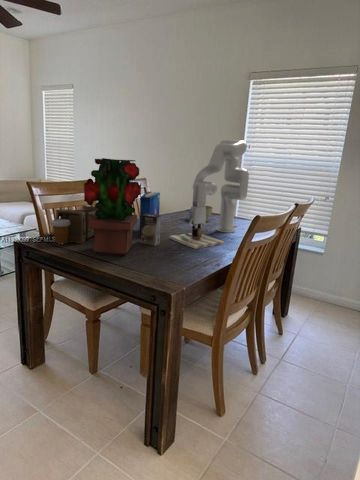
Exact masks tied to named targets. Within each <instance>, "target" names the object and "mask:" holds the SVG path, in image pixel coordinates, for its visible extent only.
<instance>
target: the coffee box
mask: <svg viewBox="0 0 360 480" xmlns="http://www.w3.org/2000/svg"><path fill="white" fill-rule="evenodd" d="M161 221H162V215H160V214H159V215H154V214H147V213H146V214H144V215H142V232H141V235H140V237H141V239H140V244H145V245H150V246H155V247H156V246H157V245H159V244H160V241H161V240H160V239H161V238H160V237H161V224H162V223H161Z"/></svg>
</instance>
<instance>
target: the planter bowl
mask: <svg viewBox="0 0 360 480" xmlns="http://www.w3.org/2000/svg"><path fill="white" fill-rule="evenodd" d="M205 207H206V221H205V222H207V221H208V220H209V218H210V217H211V215H212V213H213V208H214V207H213V206H211V205H207V204H206V205H205Z"/></svg>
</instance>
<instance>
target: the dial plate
mask: <svg viewBox="0 0 360 480" xmlns="http://www.w3.org/2000/svg"><path fill="white" fill-rule="evenodd" d="M188 234H190V235H192V232H189V233H188ZM168 237H169V238H168V239H170V240H172V241H175V242H177V243H179V244H182V245H185V246H187V247H189V248H191V249H195V250H196V249H203V248H207V247H208V248H209V247H214V246H220V245H221V246H222V245H224V244H225V241H224V240H220V239H217V238H215V237H213V236H209V235H206V234H203V233H202V237H201V238H200V239H194V238H192V236H189V235H186V233H181V234H175V235H173V234H172V235H169V236H168Z"/></svg>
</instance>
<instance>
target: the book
mask: <svg viewBox="0 0 360 480" xmlns="http://www.w3.org/2000/svg"><path fill="white" fill-rule="evenodd" d="M139 198H140V200H139V202H140V203H139V204H140V206H139V235H140V236H141V232H142V215H144V214H146V213H147V214H154V215H160V205H161V204H160V201H161V192H159V191H158V192H157V191H147V192H146V193H144V194H143V195H141V197H140V196H139Z"/></svg>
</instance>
